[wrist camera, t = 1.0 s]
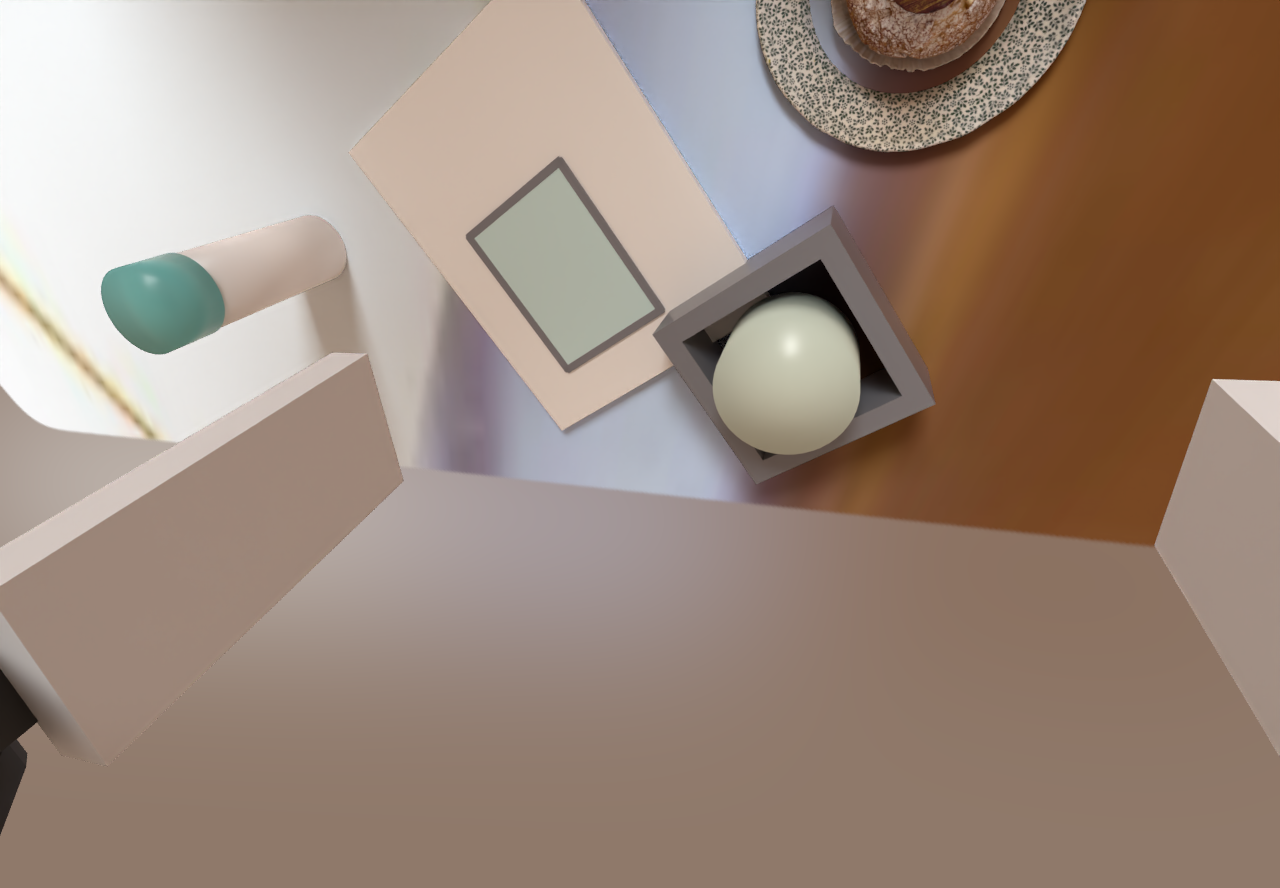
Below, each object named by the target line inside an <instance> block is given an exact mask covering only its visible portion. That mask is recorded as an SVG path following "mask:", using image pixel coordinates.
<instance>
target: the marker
mask: <svg viewBox="0 0 1280 888" xmlns="http://www.w3.org/2000/svg"><path fill="white" fill-rule="evenodd" d="M346 260H347V255H346V249H345V246H344V243H343V241H342V238H341V237H340V235H339V233H338V232H337V231H336V229H335V228H334V227H333V226H332V225H331V224H330V223H328V222H327V221H326V220H324V219H322V218H320V217H317V216H313V215H305V216H301V217H298V218H295V219H291V220H288V221H284V222H281V223H278V224H274V225H271V226H267V227H264V228H261V229H257V230H254V231H250V232H247V233H244V234H240V235H237V236H233V237H230V238H226V239H223V240H220V241H216V242H213V243H209V244H206V245H203V246H199V247H196V248H192V249H189V250H186V251H182V252H179V253H166V254H163V255H160V256H156V257H153V258H149V259H146V260H142V261H139V262H135V263H132V264H128V265H125V266H122V267H118V268H115V269H112V270H110V271H109V272H108V273H107V274H106V275H105V277H104V278H103V281H102V285H101V295H102V300H103V304H104V307H105V310H106V312H107V314H108V316H109V318H110V320H111V321H112V323H113V324H114V326H115V327H116V328H117V330H118V331H119V332H120V333H121V334H122V335H123V336H124V337H125V338H126V339H127V340H128V341H129V342H131V343H132V344H133V345H135V346H136V347H138V348H139V349H141V350H143V351H146V352H148V353H152V354H166V353H169V352H171V351H173V350H176V349H178V348H180V347H183V346H185V345H187V344H189V343H192V342H194V341H196V340H199V339H201V338H203V337H206V336H208V335H210V334H213V333H214V332H216V331H217V330H219V329H220V328H221V327H223V326H225V325H228V324H230V323H232V322H235V321H237V320H239V319H242V318H244V317H246V316H249V315H251V314H253V313H255V312H258V311H260V310H262V309H265V308H267V307H269V306H272V305H274V304H276V303H279V302H281V301H283V300H286V299H288V298H290V297H293V296H295V295H297V294H300V293H302V292H304V291H307V290H309V289H311V288H314V287H316V286H318V285H321V284H323V283H325V282H328V281H330V280H332V279H335V278H336V277H338V276H339V275H340V274H341V273H342V272H343V271H344V268H345V266H346Z"/></svg>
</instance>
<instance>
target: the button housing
mask: <svg viewBox="0 0 1280 888" xmlns="http://www.w3.org/2000/svg"><path fill="white" fill-rule="evenodd" d="M820 259H821V261H822V262H823V264H824V266H825V267H826V269H827V271H828V272H829V274H830V276H831V277H832V279H833V281H834V282H835V284H836V286H837V287H838V289H839V291H840V292H841V294H842V296H843V297H844V299H845V301H846V303H847V304H848V306H849V308H850V309H851V311H852V313H853V314H854V316H855V318H856V319H857V321H858V323H859V324H860V326H861V328H862V329H863V331H864V333H865V334H866V336H867V338H868V339H869V341H870V343H871V344H872V346H873V348H874V350H875V351H876V353H877V355H878V356H879V358H880V360H881V361H882V363H883V365H884V366H885V368H883V369H881V370H879V371H877V372H875V373H873V374H871V375H869V376H867V377H865V378H863V379H861V380H860V400H859V404H858V408H857V411H856V413H855V415H854V418H853V419H852V421H851V422H850V424H849V426H848V427H847V428H846V429H845V430H844V432H843V433H842V434H840V435H839V436H838V437H837V438H836V439H835V440H833V441H832V442H830V443H829V444H827V445H825V446H823V447H821V448H819V449H816V450H814V451H810V452H807V453H802V454H794V455H783V454H774V453H769V452H765V451H762V450H759V449H757V448H755V447H752V446H750V445H749V444H747V443H745V442H744V441H742V440H741V439H739V438H738V437H737V436H736V435H735V434H734V433H733V432H732V431H731V430H730V429H729V428H728V427H727V426H726V424H725V423H724V422H723V420H722V418H721V417H720V415H719V413H718V410H717V408H716V405H715V402H714V397H713V377H714V372H715V369H716V365H717V363H718V361H719V359H720V357H721V354H722V352H723V349H722V348H721V346H720V345H719V343H718V342H717V341H715V342H712V340H711V339H710V337H709V336H708V334H707V333H706V331H705V330H704V329H705V328H706V327H708V326H710V325H711V324H713V323H715V322H716V321H718V320H720V319H721V318H723V317H725V316H726V315H728V314H730V313H731V312H733V311H735V310H736V309H738V308H740V307H741V306H743V305H745V304H746V303H748V302H750V301H751V300H753V299H755V298H756V297H758V296H760V295H761V294H763V293H765V292H766V291H768V290H770V289H771V288H773V287H775V286H776V285H778V284H780V283H781V282H783V281H785V280H786V279H788V278H790V277H791V276H793V275H795V274H796V273H798V272H800V271H801V270H803V269H805V268H806V267H808V266H810V265H811V264H813V263H815V262H816V261H818V260H820ZM652 335H653V336H654V338H655V339H656V341H657V342H658V344H659V345H660V347H661V348H662V349H663V351H664V352H665V354H666V355H667V357H668V358H669V360H670V361H671V362H672V364H673V365H674V367H675V368H676V370H677V371H678V372H679V374H680V375H681V377H682V378H683V380H684V381H685V383H686V384H687V385H688V387H689V388H690V390H691V391H692V393H693V394H694V396H695V397H696V398H697V400H698V401H699V403H700V404H701V406H702V407H703V409H704V410H705V411H706V413H707V414H708V416H709V417H710V419H711V420H712V422H713V423H714V424H715V426H716V427H717V429H718V430H719V432H720V433H721V435H722V436H723V437H724V439H725V440H726V442H727V443H728V445H729V446H730V447H731V449H732V450H733V452H734V453H735V455H736V456H737V458H738V459H739V460H740V462H741V463H742V465H743V466H744V468H745V469H746V471H747V472H748V473H749V475H750V476H751V478H752V479H753V481H754V482H755V484H758V483H761V482H763V481H765V480H767V479H770V478H772V477H774V476H776V475H778V474H781V473H783V472H785V471H787V470H790V469H792V468H794V467H796V466H799V465H801V464H803V463H805V462H807V461H810V460H812V459H814V458H816V457H819V456H821V455H823V454H825V453H828V452H830V451H832V450H834V449H836V448H839V447H841V446H843V445H845V444H848V443H850V442H852V441H854V440H857V439H859V438H861V437H863V436H865V435H868V434H870V433H872V432H874V431H877V430H879V429H881V428H883V427H886V426H888V425H890V424H892V423H894V422H897V421H899V420H901V419H903V418H906V417H908V416H910V415H912V414H915V413H917V412H919V411H921V410H923V409H926V408H928V407H930V406H932V405H935V400H934V395H933V391H932V386H931V382H930V377H929V373H928V368H927V367H926V365H925V363H924V361H923V360H922V358H921V356H920V354H919V353H918V351H917V349H916V347H915V346H914V344H913V342H912V341H911V339H910V337H909V335H908V334H907V332H906V330H905V328H904V327H903V325H902V323H901V321H900V320H899V318H898V316H897V315H896V313H895V311H894V309H893V308H892V306H891V304H890V302H889V301H888V299H887V297H886V295H885V294H884V292H883V290H882V288H881V287H880V285H879V283H878V282H877V280H876V278H875V276H874V275H873V273H872V271H871V269H870V268H869V266H868V264H867V262H866V261H865V259H864V257H863V256H862V254H861V252H860V250H859V249H858V247H857V245H856V243H855V242H854V240H853V238H852V236H851V235H850V233H849V231H848V229H847V228H846V226H845V224H844V223H843V221H842V219H841V217H840V216H839V214H838V212H837V210H836V209H835V207H834V205H833V206H832V207H830V208H829V209H827V210H825V211H824V212H822V213H821V214H819V215H817V216H816V217H814V218H813V219H811V220H810V221H808V222H806V223H805V224H803V225H802V226H800V227H799V228H797V229H795V230H794V231H792V232H791V233H789V234H788V235H786V236H784V237H783V238H781V239H780V240H778V241H776V242H775V243H773V244H772V245H770V246H769V247H767V248H765V249H764V250H762V251H761V252H759V253H758V254H756V255H754V256H753V257H751V258H750V259H748V260H747V262H746V263H745V264H744V265H742V266H740V267H739V268H737V269H736V270H734V271H732V272H731V273H729V274H728V275H726V276H725V277H723V278H721V279H720V280H718V281H717V282H715V283H713V284H712V285H710V286H709V287H707V288H706V289H704V290H702V291H701V292H699V293H698V294H696V295H694V296H693V297H691V298H690V299H688V300H687V301H685V302H683V303H682V304H680V305H679V306H677V307H676V308H674V309H672V310H671V311H669V313H668V314H667V315H666V317H665V318H664V319H663V321H662V322H661V323H660V325H659V326H658V328H657V329H656V330H655V332H654V333H653V334H652Z"/></svg>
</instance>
